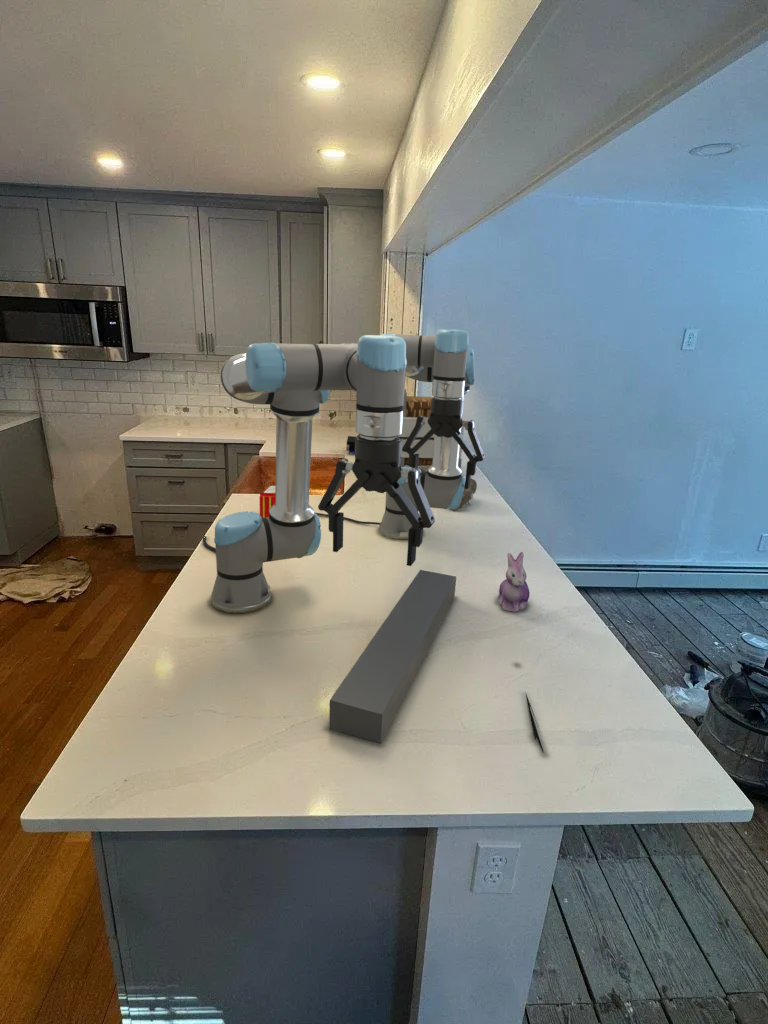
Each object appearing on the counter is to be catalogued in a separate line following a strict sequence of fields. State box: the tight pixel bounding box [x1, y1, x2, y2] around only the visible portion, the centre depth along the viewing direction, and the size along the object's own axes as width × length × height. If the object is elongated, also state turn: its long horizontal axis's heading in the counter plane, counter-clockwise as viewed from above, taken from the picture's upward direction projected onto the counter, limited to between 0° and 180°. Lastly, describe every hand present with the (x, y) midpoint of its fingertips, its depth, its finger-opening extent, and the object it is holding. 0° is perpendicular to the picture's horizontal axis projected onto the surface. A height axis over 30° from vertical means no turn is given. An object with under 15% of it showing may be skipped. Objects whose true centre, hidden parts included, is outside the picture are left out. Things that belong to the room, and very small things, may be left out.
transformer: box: [398, 389, 466, 470], centre depth 268 cm, size 34×33×41 cm
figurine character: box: [345, 435, 357, 455], centre depth 308 cm, size 7×8×15 cm
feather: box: [525, 691, 547, 753], centre depth 115 cm, size 2×28×2 cm
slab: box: [329, 569, 457, 744], centre depth 131 cm, size 60×10×6 cm, turn 161°
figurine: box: [497, 551, 530, 612], centre depth 152 cm, size 9×10×15 cm
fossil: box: [449, 477, 478, 511], centre depth 233 cm, size 22×10×15 cm
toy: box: [259, 485, 276, 518], centre depth 208 cm, size 12×13×30 cm
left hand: (373, 556), depth 99 cm, fingers open, 13 cm apart
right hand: (440, 483), depth 141 cm, fingers open, 13 cm apart
